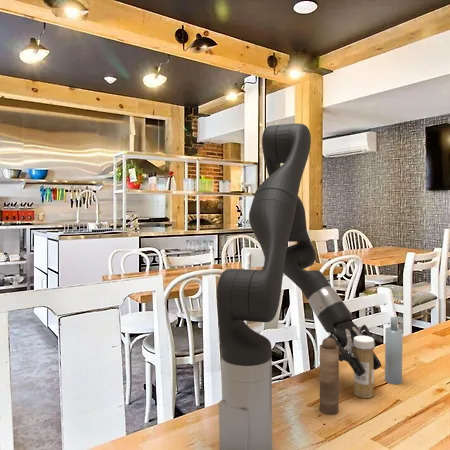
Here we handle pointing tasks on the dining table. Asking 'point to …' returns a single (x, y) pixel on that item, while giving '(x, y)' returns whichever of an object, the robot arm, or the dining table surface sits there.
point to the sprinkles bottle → (364, 366)
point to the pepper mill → (329, 377)
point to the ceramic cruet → (393, 352)
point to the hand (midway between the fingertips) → (370, 370)
